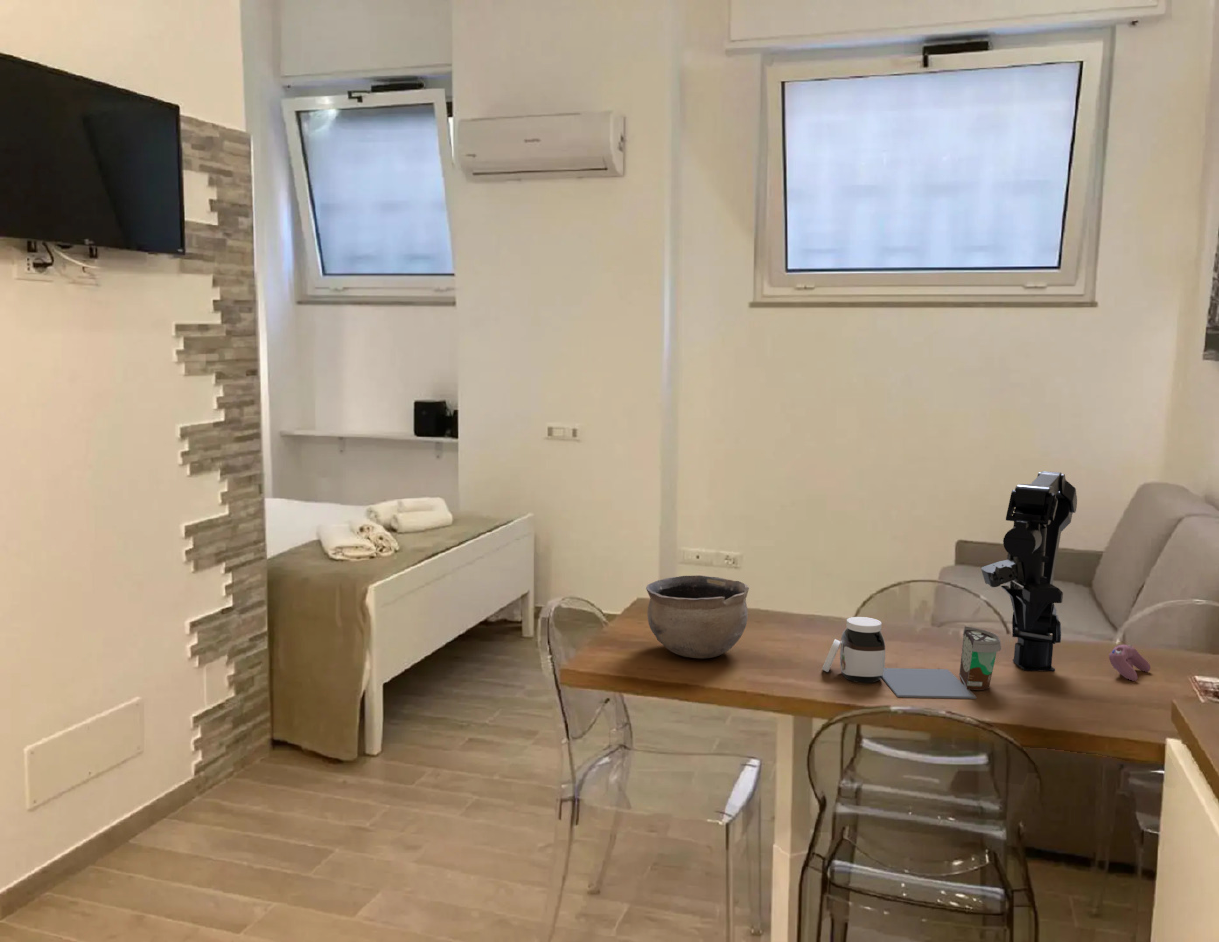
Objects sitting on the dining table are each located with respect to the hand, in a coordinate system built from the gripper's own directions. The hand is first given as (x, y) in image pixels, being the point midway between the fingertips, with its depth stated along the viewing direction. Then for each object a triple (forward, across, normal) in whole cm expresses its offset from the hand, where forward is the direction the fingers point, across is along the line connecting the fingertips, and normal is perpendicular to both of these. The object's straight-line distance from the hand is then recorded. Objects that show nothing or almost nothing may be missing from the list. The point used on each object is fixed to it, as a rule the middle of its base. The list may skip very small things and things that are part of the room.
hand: (1023, 626), depth 192 cm
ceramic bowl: (+12, -17, -63) cm, 66 cm away
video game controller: (+12, -9, +26) cm, 30 cm away
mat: (+12, 0, -19) cm, 22 cm away
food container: (+12, 0, -8) cm, 15 cm away
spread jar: (+12, -4, -32) cm, 35 cm away
